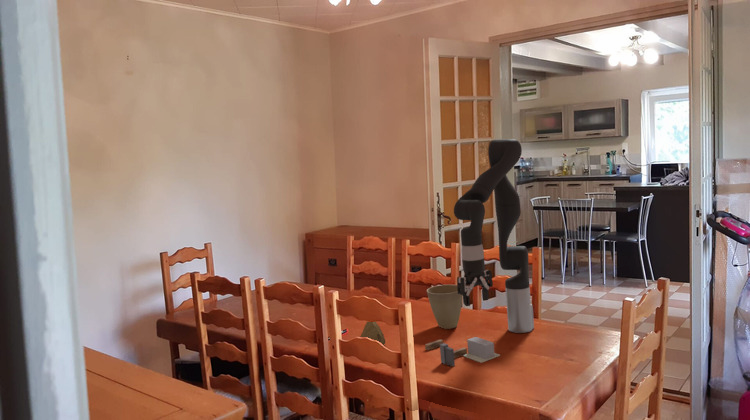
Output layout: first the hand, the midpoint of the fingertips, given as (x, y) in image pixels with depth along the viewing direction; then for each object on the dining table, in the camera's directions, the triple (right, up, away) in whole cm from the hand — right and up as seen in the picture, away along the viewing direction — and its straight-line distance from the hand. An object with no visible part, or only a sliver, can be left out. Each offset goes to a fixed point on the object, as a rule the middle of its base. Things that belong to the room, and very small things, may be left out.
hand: (476, 302), depth 197 cm
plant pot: (-5, -16, +38) cm, 42 cm away
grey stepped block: (-10, -21, -4) cm, 23 cm away
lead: (+2, -19, +2) cm, 19 cm away
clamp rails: (-10, -19, +9) cm, 23 cm away
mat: (+2, -19, +2) cm, 19 cm away
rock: (-36, -21, +24) cm, 48 cm away
